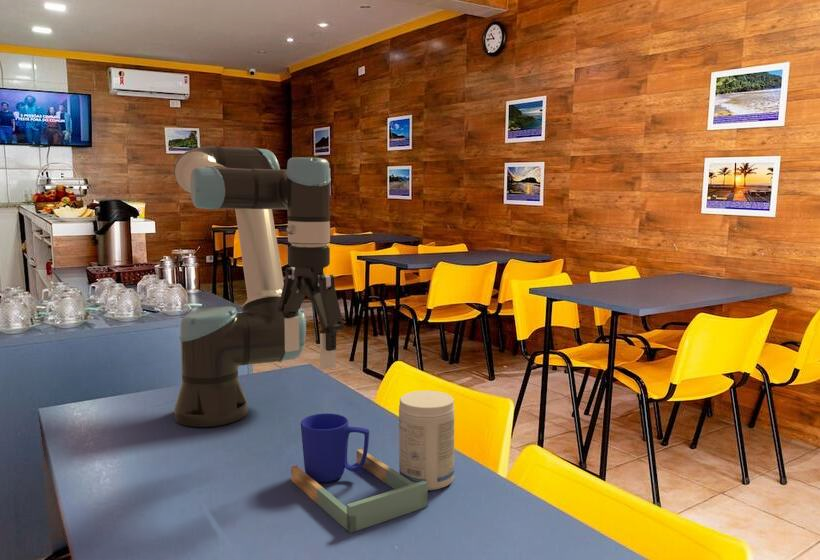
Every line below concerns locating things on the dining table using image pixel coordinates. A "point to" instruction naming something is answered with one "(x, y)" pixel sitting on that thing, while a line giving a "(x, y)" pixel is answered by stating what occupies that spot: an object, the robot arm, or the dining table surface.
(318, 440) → the mug
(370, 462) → the flange rails
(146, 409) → the dining table surface
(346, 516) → the pocket
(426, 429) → the supplement tub
